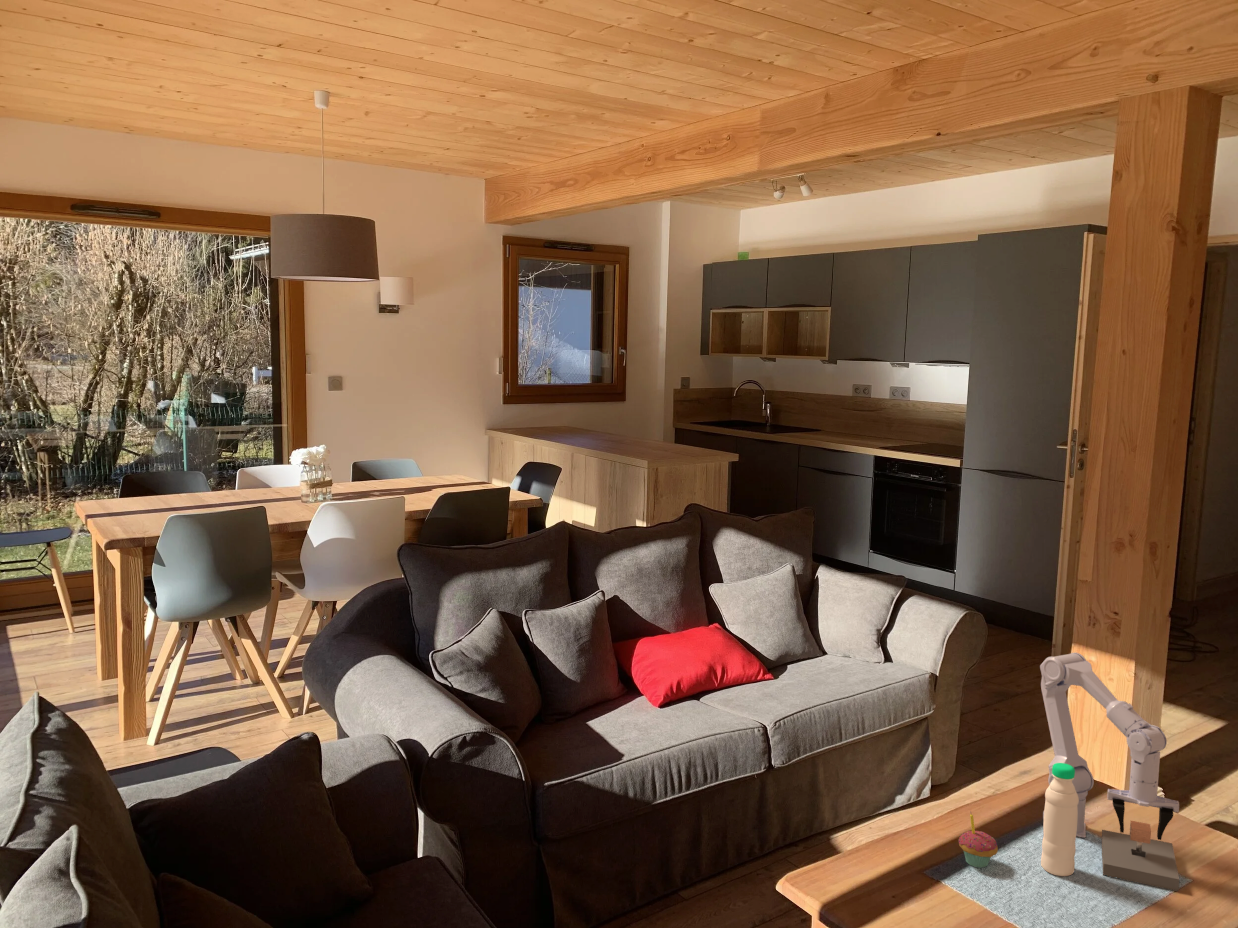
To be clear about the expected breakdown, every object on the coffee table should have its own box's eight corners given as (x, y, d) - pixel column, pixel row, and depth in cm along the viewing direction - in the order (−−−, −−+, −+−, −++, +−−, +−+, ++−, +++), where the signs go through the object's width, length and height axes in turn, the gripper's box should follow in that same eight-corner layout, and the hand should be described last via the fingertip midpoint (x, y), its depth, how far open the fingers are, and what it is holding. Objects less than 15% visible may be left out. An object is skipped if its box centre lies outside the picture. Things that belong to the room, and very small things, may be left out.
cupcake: (955, 865, 222) (957, 816, 221) (960, 849, 230) (963, 801, 229) (994, 875, 218) (997, 825, 217) (998, 858, 226) (1001, 810, 225)
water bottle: (1077, 879, 217) (1084, 773, 215) (1044, 875, 219) (1051, 770, 216) (1069, 863, 224) (1076, 760, 222) (1037, 859, 226) (1043, 758, 223)
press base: (1102, 874, 219) (1103, 863, 219) (1101, 840, 235) (1102, 829, 235) (1178, 891, 213) (1179, 879, 212) (1171, 854, 229) (1172, 843, 229)
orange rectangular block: (1129, 852, 223) (1131, 827, 222) (1128, 845, 226) (1130, 820, 226) (1149, 856, 221) (1151, 831, 220) (1148, 849, 225) (1149, 823, 224)
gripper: (1109, 778, 221) (1105, 834, 223) (1181, 791, 215) (1177, 848, 216) (1108, 767, 228) (1105, 821, 229) (1178, 779, 221) (1174, 835, 223)
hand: (1140, 834), depth 223 cm, fingers open, 7 cm apart
